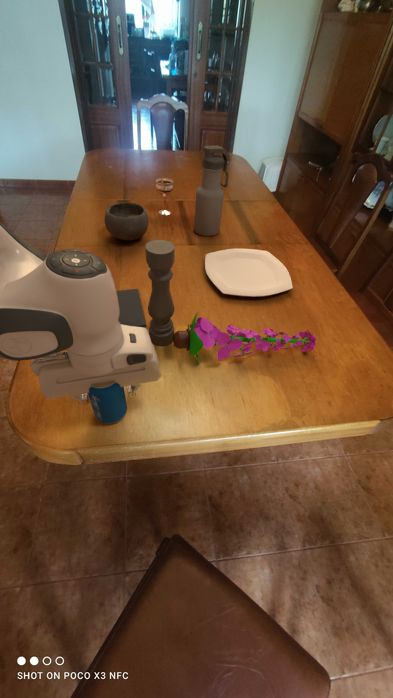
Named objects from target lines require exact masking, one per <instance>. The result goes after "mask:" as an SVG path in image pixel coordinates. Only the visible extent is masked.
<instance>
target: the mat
mask: <svg viewBox="0 0 393 698" xmlns="http://www.w3.org/2000/svg"><path fill="white" fill-rule="evenodd" d="M116 292H117V297H118V303H119V310H120V313H119V318H118V321H119V322H120V324H122V325H127V326H135V327H143V328H145V327H147V326H148V325H147V320H146V317H145V312H144V308H143V304H142V300H141V299H142V298H141V296H140V291H139V288H131V289H130V288H129V289H121V290H116Z"/></svg>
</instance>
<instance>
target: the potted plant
mask: <svg viewBox="0 0 393 698" xmlns="http://www.w3.org/2000/svg"><path fill="white" fill-rule="evenodd" d="M198 312H199V311H197V312H196V313H195V316H194V317H193V319H192V321H191V323H188V324H187V328H186V330H177V331H175V332H174V335H173V342H172V344H173V347H174V348H176V349H179V350H180V349H185V350H186V351H187V352H188V351H189V355H190V356H191V357H195V359H196V360H197V362H198V363H200V359H199V354H198V353H200V351H202V349H203V348H205V349H206V350H208V349H211V348H212V347H216V346H217V345H218V346H221V347H220V348H219V349H218V350H217V353H216V358H217V360H218V361H221V360H224V359H227V358H229V356H230V355H231V352H236V351H238V350H240V352H241V353H240V354H236V355H231V357H232V358H236V359H237V358H242V357H246V356H248V355H251V354H252V353H254V352H255V350H256V351H260V350H262V351H263V352H267V351H269V348H270V349H271V350H273V352H274V353H276V352H278V351H279V350H280V349H282V348H283V350H288V349H291V348H294V349H296V348H297V349H298V347H300V346H301V345H302V344H303V348H302V349H301V352H302V353H307V352H308V351H310V352H312V351H314V349H315V347H316V340H317V339H316V337H315V336H314V335H313V333H312V332H310V331H309V329H306V330H305V331H302V330H301V331H299V332H298V333H299V334H297V333H294V334H293V335H292V337H290V336H289V335H288V333H285V331H280V332H276V331H274V329H272V328H267V327H264V329H262V330H261V332H262V333H263V334H264V335H266V336H265V337H262V336H261V335H260V334H259V333H258V332H257V331H256V330H255V331H254V330H251V329H248V328H242V329H240V328H237V327H236V326H235V325H233V324H229V325H228V326H227V327H226V328H225V329H226V332H224V331H221V330H220V328H218V327H217V326H216V325H214V324H213V323H212V322H211V321H210V320H209V319H208V318H205V317H201V316H199V317H198ZM279 335H281V337H278V336H279ZM253 343H256V345H255V350H254V351H250V350H251V349H252V345H253ZM289 343H290V344H291V343H293V344H291V345H290V346H288V344H289ZM242 346H243V348H242ZM284 346H286V347H284Z"/></svg>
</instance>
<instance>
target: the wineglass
mask: <svg viewBox="0 0 393 698" xmlns="http://www.w3.org/2000/svg"><path fill="white" fill-rule="evenodd" d="M155 183H156V184H155V189H156V192H157V193H158V194H159V195H161V196H162V197H163V209H161V210H159V211H158V214H159V215H161V216H162V215H163V216H168V215H171V211H170V210H168V209H166V197H168V196H169V195H170V194H171V193H172V192H173V190H174V185H173V183H174V180H173V179H171V178H168V177H159V178H156V179H155Z"/></svg>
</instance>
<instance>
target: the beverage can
mask: <svg viewBox="0 0 393 698" xmlns="http://www.w3.org/2000/svg"><path fill="white" fill-rule="evenodd" d="M87 394H88V398H89V403H90V405H91V408H92V412H93V414H94V417H95V419H96V421H98V422H100V423H101V424H106V425H111V424H115V423H116V424H117V423H118V422H119V421H121V420H123V419H124V418H125V416H126V415H127V412H128V403H127V398H126V392H125V387H120V384H118V383H116V381H115V382H110V383H105V384H99V385H91V387H90V388H89V393H87Z"/></svg>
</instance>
